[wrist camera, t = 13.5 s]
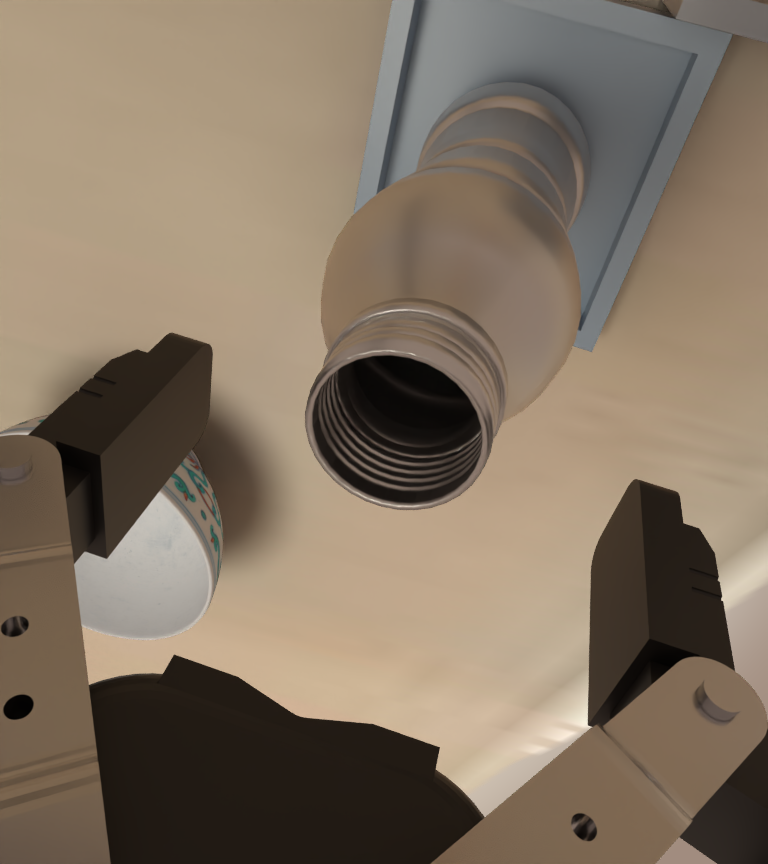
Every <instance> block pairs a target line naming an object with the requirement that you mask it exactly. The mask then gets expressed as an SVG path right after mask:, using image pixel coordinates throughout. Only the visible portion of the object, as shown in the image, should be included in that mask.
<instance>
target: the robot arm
mask: <svg viewBox="0 0 768 864" xmlns="http://www.w3.org/2000/svg"><path fill="white" fill-rule="evenodd" d="M212 356H213V353H212V347H211V346H210V345H209V344H207V343H203V342H200V341H197V340H194V339H191V338H187V337H184V336H181V335H178V334H175V333H169V334H167V335H166V336H165V337H164V338H163V339H162V340H161V341H160V342H159V343H158V344H157V345H156V346H155V347H154V348H153V349H151V350H150V351H149V352H148V353H146V352H143V351H140V350H134V351H132V352H129V353H127V354H124V355H122V356H119V357H117V358H115V359H112V360H111V361H109V362H108V363H107V364H106V365H105V366H104V367H103V368H102V369H100V370H99V371H98V372H97V373H96V374H95V375H94V378H93V379H91V378H90V379H89V380H88V381H87V382H86V383H85V384H84V385H83V386H82V387H80V390H79V392H78V391H76V392H75V393H74V394H73V395H72V396H70V397H69V398H68V399H67V400H66V401H65V402H64V403H63V404H62V405H60V406H59V407H58V408H57V409H56V410H55V411H54V412H53V413H52V414H50V415H49V416H48V417H47V418H46V419H45V420H44V421H43V422H42V423H40V424H39V425H38V426H37V427H36V428H35V429H34V430H33V431H32V432H30V433H29V434H28V435H6V436H0V864H655V863H656V862H657V861H658V860H659V859H660V858H661V857H662V856H663V855H664V853H665V852H666V851H667V850H668V849H669V848H670V847H671V845H672V844H673V843H674V842H675V841H676V840H677V839H678V838H679V837H680V838H681V839H683V840H684V841H686V842H687V843H689V844H690V845H692V846H693V847H694V848H696V849H697V850H699V851H700V852H701V853H703V854H704V855H706V856H707V857H709V858H710V859H711V860H713V861H714V862H716V863H717V864H768V720H767V714H766V711H765V708H764V705H763V703H762V701H761V699H760V698H759V696H758V695H757V693H756V692H755V690H754V689H753V688H752V687H751V686H750V684H749V683H748V682H747V681H746V680H745V679H743V677H741V676H740V675H739V674H738V673H736V672H735V668H734V662H733V656H732V651H731V645H730V639H729V634H728V628H727V622H726V616H725V610H724V604H723V601H721V598H722V593H721V587H720V582H719V581H718V577H719V575H718V570H717V564H716V558H715V553H714V551H713V550H712V548H711V547H710V545H709V543H708V542H707V540H706V539H705V537H704V535H703V534H702V532H701V531H700V529H699V528H696V527H693V526H690V525H687V524H683V517H682V509H681V502H680V496H679V493H678V492H676V491H673V490H670V489H666V488H663V487H660V486H657V485H654V484H650V483H647V482H644V481H641V480H638V479H635V480H633V481H632V482H631V484H630V485H629V486H628V488H627V490H626V492H625V493H624V495H623V497H622V499H621V501H620V502H619V504H618V506H617V508H616V510H615V511H614V513H613V515H612V517H611V519H610V520H609V522H608V524H607V526H606V528H605V529H604V531H603V533H602V535H601V537H600V539H599V541H598V543H597V546H596V549H595V552H594V556H593V560H592V566H591V597H590V645H589V693H588V725H589V726H591V727H592V728H590V729H589V730H588V731H587V732H585V733H584V734H583V735H582V736H581V737H580V738H578V739H577V740H576V741H575V742H574V743H572V744H571V745H570V746H569V747H568V748H567V749H565V750H564V751H563V752H562V753H561V754H559V755H558V756H557V757H556V758H555V759H554V760H552V761H551V762H550V763H549V764H548V765H547V766H545V767H544V768H543V769H542V770H541V771H539V772H538V773H537V774H536V775H535V776H533V777H532V778H531V779H530V780H529V781H528V782H526V783H525V784H524V785H523V786H522V787H520V788H519V789H518V790H517V791H516V792H515V793H513V794H512V795H511V796H510V797H509V798H507V799H506V800H505V801H504V802H503V803H502V804H500V805H499V806H498V807H497V808H496V809H494V810H493V811H492V812H491V813H490V814H489V815H487V816H486V817H484V816H483V814H482V813H481V812H480V811H479V810H478V808H477V807H476V806H475V804H474V803H473V802H472V801H471V799H470V798H469V797H468V796H467V795H466V794H465V793H464V792H463V791H462V790H461V789H460V788H459V787H458V786H457V785H455V784H454V783H453V782H452V781H451V780H449V779H448V778H447V777H446V776H444V775H443V774H441V773H440V772H438V771H437V770H436V764H437V759H438V754H439V749H440V747H437V746H434V745H431V744H428V743H425V742H423V741H420V740H417V739H414V738H411V737H408V736H405V735H403V734H400V733H397V732H394V731H391V730H388V729H385V728H383V727H380V726H377V725H374V724H366V723H355V722H344V721H333V720H322V719H312V718H303V717H300V716H297V715H295V714H293V713H291V712H290V711H288V710H287V709H285V708H284V707H282V706H281V705H279V704H278V703H276V702H275V701H273V700H272V699H270V698H269V697H267V696H266V695H264V694H263V693H261V692H260V691H258V690H257V689H255V688H254V687H252V686H251V685H249V684H248V683H246V682H245V681H243V680H242V679H240V678H239V677H237V676H234V675H231V674H228V673H225V672H222V671H219V670H217V669H214V668H211V667H208V666H205V665H202V664H199V663H197V662H194V661H191V660H188V659H185V658H182V657H179V656H176V655H174V656H173V658H172V659H171V661H170V663H169V665H168V666H167V668H166V670H165V671H164V673H163V674H154V673H152V674H132V675H125V676H118V677H114V678H110V679H106V680H102V681H99V682H96V683H93V684H91V685H89V683H88V675H87V666H86V658H85V650H84V642H83V633H82V625H81V617H80V609H79V600H78V592H77V584H76V576H75V567H74V564H75V563H76V561H77V560H78V559H79V558H80V557H81V555H82V554H83V553H84V552H88V553H91V554H93V555H96V556H99V557H102V558H105V559H107V558H108V557H109V556H110V555H111V553H112V552H113V551H114V549H115V548H116V547H117V546H118V544H119V543H120V542H121V540H122V539H123V538H124V537H125V535H126V534H127V533H128V531H129V530H130V529H131V527H132V526H133V525H134V524H135V522H136V521H137V520H138V518H139V517H140V516H141V515H142V513H143V512H144V511H145V509H146V508H147V507H148V506H149V504H150V503H151V502H152V500H153V499H154V498H155V496H156V495H157V494H158V493H159V491H160V490H161V489H162V487H163V486H164V485H165V484H166V482H167V481H168V480H169V478H170V477H171V476H172V475H173V473H174V472H175V471H176V469H177V468H178V467H179V465H180V464H181V463H182V462H183V460H184V459H185V458H186V456H187V455H188V454H189V453H190V451H191V450H192V449H193V447H194V446H195V445H196V444H197V442H198V441H199V439H200V438H201V436H202V434H203V432H204V429H205V426H206V424H207V420H208V416H209V409H210V392H211V374H212Z"/></svg>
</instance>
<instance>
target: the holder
mask: <svg viewBox="0 0 768 864" xmlns="http://www.w3.org/2000/svg"><path fill="white" fill-rule="evenodd" d="M662 2H663V3H664V4H665V6H666V7H667V8H668V9H669V11H670V12H671V13H672V15H673V16H674V17H675V19H678V20H682V21H686V22H690V23H693V24H697V25H701V26H705V27H708V28H712V29H716V30H720V31H724V32H727V33H731V34H735V35H739V36H742V37H746V38H750V39H754V40H757V41H761V42H765V43H768V0H662Z"/></svg>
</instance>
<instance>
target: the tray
mask: <svg viewBox="0 0 768 864" xmlns="http://www.w3.org/2000/svg"><path fill="white" fill-rule="evenodd" d="M732 36H733V34H731V33H727V32H724V31H720V30H716V29H712V28H708V27H705V26H701V25H697V24H693V23H690V22H686V21H682V20H678V19H675V17H674V16H673V15H672V14H671V13H667V12H663V11H660V10H656V9H652V8H648V7H644V6H641V5H637V4H633V3H629V2H626V1H622V0H392V5H391V10H390V16H389V21H388V27H387V32H386V38H385V43H384V49H383V54H382V60H381V66H380V71H379V77H378V82H377V88H376V93H375V99H374V104H373V110H372V115H371V121H370V126H369V132H368V137H367V143H366V148H365V154H364V159H363V165H362V170H361V176H360V182H359V187H358V193H357V198H356V204H355V209H354V214H355V213H356V212H357V211H358V210H359V209H360V208H362V207H363V206H364V205H365V204H366V203H367V202H368V201H369V200H370V199H371V198H373V197H374V196H376V195H377V194H378V193H379V192H380V191H381V190H383V189H385V188H387V187H388V186H390V185H392V184H393V183H395V182H397V181H398V180H400V179H402V178H404V177H406V176H408V175H410V174H412V173H414V172H416V169H417V165H418V161H419V157H420V154H421V151H422V147H423V144H424V142H425V140H426V138H427V136H428V134H429V132H430V129H431V128H432V126H433V125H434V123H435V122H436V121H437V119H438V118H439V116H440V115H441V114H442V113H443V112H444V111H445V110H446V109H447V108H448V107H449V106H450V105H451V104H452V103H453V102H454V101H455V100H457V99H459V98H460V97H462V96H463V95H465V94H467V93H468V92H470V91H472V90H474V89H477V88H480V87H482V86H485V85H488V84H494V83H501V82H516V83H525V84H529V85H532V86H535V87H539V88H542V89H543V90H545V91H547V92H548V93H550V94H552V95H554V96H555V97H557V98H558V99H559V100H560V101H561V102H562V103H563V104H565V105H566V106H567V107H568V108H569V109H570V110H571V112H572V113H573V115H574V116H575V118H576V119H577V121H578V122H579V123H580V125H581V128H582V130H583V132H584V135H585V137H586V140H587V143H588V149H589V154H590V160H591V161H590V181H589V186H588V191H587V196H586V198H585V201H584V203H583V205H582V208H581V210H580V213H579V215H578V216H577V218H576V220H575V222H574V224H573V225H572V227H571V228H570V230H569V231H568V233H567V234H568V237H569V240H570V242H571V245H572V248H573V251H574V253H575V258H576V263H577V268H578V273H579V278H580V288H581V318H580V322H579V326H578V331H577V335H576V339H575V343H574V345H573V346H574V347H577V348H581V349H584V350H587V351H590V352H592V350H593V348H594V346H595V344H596V341H597V339H598V337H599V335H600V332H601V330H602V328H603V326H604V323H605V321H606V319H607V317H608V314H609V312H610V310H611V308H612V305H613V303H614V301H615V299H616V296H617V294H618V292H619V290H620V288H621V285H622V283H623V281H624V279H625V276H626V274H627V272H628V270H629V267H630V265H631V263H632V261H633V258H634V256H635V254H636V252H637V249H638V247H639V245H640V243H641V240H642V238H643V236H644V234H645V231H646V229H647V227H648V225H649V222H650V220H651V218H652V216H653V213H654V211H655V209H656V207H657V204H658V202H659V200H660V198H661V195H662V193H663V191H664V189H665V186H666V184H667V182H668V180H669V177H670V175H671V173H672V171H673V168H674V166H675V164H676V162H677V159H678V157H679V155H680V153H681V150H682V148H683V146H684V144H685V141H686V139H687V137H688V135H689V132H690V130H691V128H692V126H693V123H694V121H695V119H696V117H697V114H698V112H699V110H700V108H701V105H702V103H703V101H704V99H705V96H706V94H707V92H708V90H709V87H710V85H711V83H712V81H713V78H714V76H715V74H716V72H717V69H718V67H719V65H720V63H721V60H722V58H723V56H724V54H725V51H726V49H727V47H728V45H729V42H730V40H731V38H732Z"/></svg>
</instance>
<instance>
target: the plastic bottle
mask: <svg viewBox="0 0 768 864" xmlns="http://www.w3.org/2000/svg"><path fill="white" fill-rule="evenodd" d="M590 161H591V160H590V154H589V149H588V143H587V140H586V137H585V135H584V132H583V130H582V128H581V125H580V123H579V122H578V121H577V119H576V118H575V116H574V115H573V113H572V112H571V110H570V109H569V108H568V107H567V106H566V105H565V104H563V103H562V102H561V101H560V100H559V99H558V98H557V97H555V96H554V95H552V94H550V93H548V92H547V91H545V90H543V89H542V88H539V87H535V86H532V85H529V84H525V83H516V82H501V83H494V84H488V85H485V86H482V87H480V88H477V89H474V90H472V91H470V92H468V93H467V94H465V95H463V96H462V97H460V98H459V99H457V100H455V101H454V102H453V103H452V104H451V105H450V106H449V107H448V108H447V109H446V110H445V111H444V112H443V113H442V114H441V115H440V116H439V118H438V119H437V121H436V122H435V123H434V125H433V126H432V128H431V129H430V132H429V134H428V136H427V138H426V140H425V142H424V144H423V147H422V151H421V154H420V157H419V161H418V165H417V169H416V172H414V173H412V174H410V175H408V176H406V177H404V178H402V179H400V180H398V181H397V182H395V183H393V184H392V185H390V186H388V187H387V188H385V189H383V190H381V191H380V192H379V193H378V194H377V195H376V196H374V197H373V198H371V199H370V200H369V201H368V202H367V203H366V204H365V205H364V206H363V207H362V208H360V209H359V210H358V211H357V212H356V213H355V214H354V215H353V216H352V217H351V218H350V220H349V221H348V223H347V224H346V225H345V227H344V228H343V230H342V231H341V233H340V234H339V235H338V237H337V239H336V241H335V243H334V246H333V248H332V251H331V253H330V255H329V258H328V260H327V265H326V270H325V275H324V280H323V287H322V296H321V324H322V329H323V334H324V339H325V344H326V346H327V349H328V353H327V355H326V358H325V360H324V365H323V368H322V370H321V371H320V373H319V374H318V376H317V377H316V380H315V382H314V384H313V386H312V388H311V390H310V394H309V397H308V401H307V406H306V411H305V427H306V432H307V436H308V441H309V444H310V446H311V448H312V451H313V453H314V455H315V457H316V459H317V460H318V462H319V463H320V464H321V466H322V467H323V469H324V470H325V471H326V472H327V474H328V475H329V476H330V477H331V478H332V479H333V480H334V481H335V482H336V483H338V484H339V485H340V486H342V487H343V488H344V489H346V490H347V491H348V492H350V493H351V494H353V495H355V496H357V497H359V498H361V499H363V500H364V501H367V502H370V503H373V504H376V505H378V506H381V507H387V508H392V509H397V510H419V509H426V508H432V507H435V506H438V505H441V504H444V503H447V502H449V501H451V500H452V499H454V498H456V497H458V496H460V495H461V494H462V493H463V492H464V491H466V490H467V489H468V488H469V487H470V486H471V485H472V484H473V483H474V482H475V480H476V479H477V477H478V476H479V475H480V473H481V472H482V469H483V468H484V466H485V464H486V462H487V459H488V457H489V455H490V452H491V447H492V443H493V438H494V437H495V436H496V434H497V432H498V430H499V427H500V425H501V423H503V422H505V421H507V420H508V419H510V418H512V417H513V416H515V415H517V414H518V413H520V412H522V411H523V410H524V409H526V408H527V407H528V406H529V405H530V404H531V403H532V402H533V401H534V400H536V399H537V398H538V397H539V396H540V395H541V394H542V392H543V391H544V390H545V389H546V388H547V386H548V385H549V384H550V383H551V381H552V380H553V379H554V377H555V376H556V375H557V373H558V372H559V371H560V369H561V368H562V367H563V365H564V364H565V362H566V360H567V358H568V355H569V353H570V351H571V349H572V347H573V345H574V343H575V339H576V335H577V331H578V326H579V322H580V318H581V288H580V278H579V273H578V268H577V263H576V258H575V253H574V251H573V248H572V245H571V242H570V240H569V237H568V234H567V233H568V231H569V230H570V228H571V227H572V225H573V224H574V222H575V220H576V218H577V216H578V215H579V213H580V210H581V208H582V205H583V203H584V201H585V198H586V196H587V191H588V186H589V181H590Z"/></svg>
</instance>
